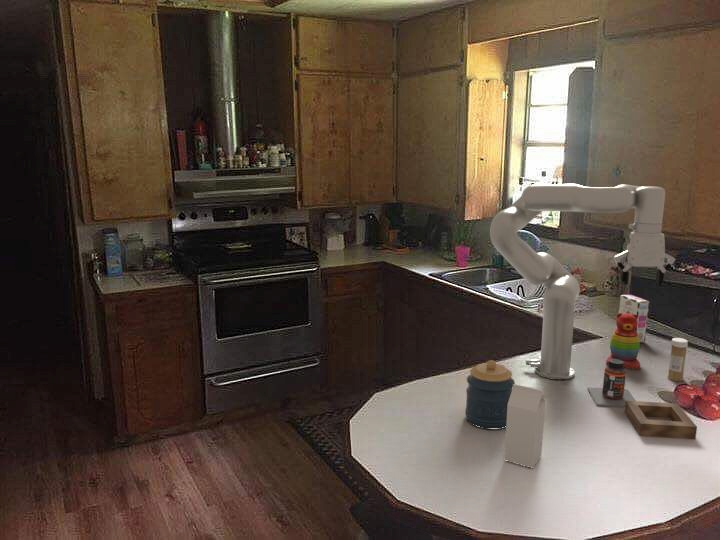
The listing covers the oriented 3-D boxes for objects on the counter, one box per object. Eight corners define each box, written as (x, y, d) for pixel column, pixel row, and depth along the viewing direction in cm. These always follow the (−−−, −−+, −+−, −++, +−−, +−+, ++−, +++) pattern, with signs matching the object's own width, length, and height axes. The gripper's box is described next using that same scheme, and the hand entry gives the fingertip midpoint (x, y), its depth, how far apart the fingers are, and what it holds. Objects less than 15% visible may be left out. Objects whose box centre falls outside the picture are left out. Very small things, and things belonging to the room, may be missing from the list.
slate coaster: (596, 405, 179) (596, 404, 179) (587, 389, 191) (587, 387, 191) (639, 408, 178) (639, 406, 177) (627, 391, 189) (627, 389, 189)
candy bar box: (645, 342, 232) (650, 301, 228) (634, 344, 231) (638, 302, 227) (626, 333, 242) (630, 293, 239) (615, 334, 241) (619, 294, 237)
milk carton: (532, 469, 146) (538, 396, 142) (504, 461, 150) (508, 389, 145) (541, 456, 152) (546, 385, 148) (513, 448, 155) (517, 379, 151)
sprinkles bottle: (685, 379, 198) (690, 340, 195) (678, 382, 195) (683, 343, 192) (672, 375, 201) (676, 336, 198) (664, 378, 199) (669, 339, 196)
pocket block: (639, 435, 162) (640, 423, 161) (624, 411, 175) (625, 400, 175) (695, 439, 160) (697, 426, 159) (676, 414, 174) (677, 403, 173)
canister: (469, 406, 179) (471, 349, 175) (514, 413, 175) (518, 355, 171) (461, 426, 167) (463, 366, 163) (509, 434, 163) (513, 372, 159)
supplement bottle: (613, 402, 180) (617, 366, 178) (597, 394, 185) (601, 359, 183) (627, 398, 183) (631, 362, 180) (611, 390, 188) (615, 356, 186)
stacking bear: (605, 366, 209) (610, 316, 205) (606, 356, 218) (611, 308, 214) (640, 370, 205) (645, 320, 201) (639, 360, 214) (644, 311, 210)
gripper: (620, 229, 179) (614, 286, 183) (682, 231, 177) (676, 288, 180) (613, 225, 186) (608, 280, 190) (673, 227, 184) (667, 282, 188)
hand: (641, 284), depth 185 cm, fingers open, 9 cm apart
